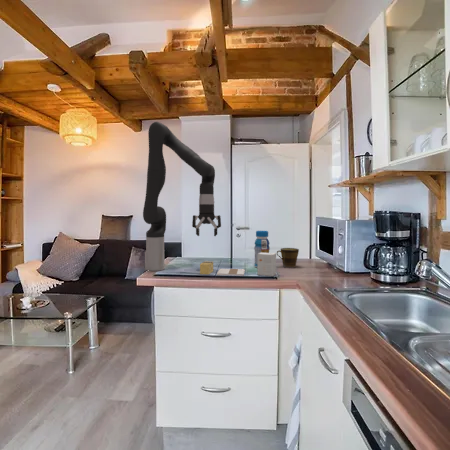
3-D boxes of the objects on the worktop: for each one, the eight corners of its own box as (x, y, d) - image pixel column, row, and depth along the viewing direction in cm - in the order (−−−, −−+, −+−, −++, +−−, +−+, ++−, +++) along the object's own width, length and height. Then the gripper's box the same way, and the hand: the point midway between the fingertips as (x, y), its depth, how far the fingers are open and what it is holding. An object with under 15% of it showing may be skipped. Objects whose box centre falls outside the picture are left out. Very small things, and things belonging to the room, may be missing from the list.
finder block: (199, 274, 148) (199, 263, 147) (204, 270, 156) (204, 260, 156) (209, 274, 147) (209, 264, 147) (213, 271, 156) (213, 261, 155)
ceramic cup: (292, 264, 174) (292, 247, 174) (302, 267, 165) (302, 249, 164) (272, 265, 170) (272, 248, 170) (281, 269, 161) (281, 250, 160)
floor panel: (217, 275, 145) (217, 273, 145) (219, 270, 157) (219, 268, 157) (243, 275, 144) (243, 273, 144) (244, 270, 156) (244, 269, 156)
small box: (276, 274, 148) (276, 253, 147) (273, 276, 142) (273, 254, 142) (260, 272, 151) (260, 252, 150) (257, 275, 146) (257, 253, 145)
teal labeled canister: (251, 267, 165) (252, 231, 164) (257, 265, 172) (257, 230, 171) (266, 268, 161) (266, 231, 160) (271, 266, 169) (271, 230, 168)
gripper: (191, 203, 147) (191, 236, 148) (219, 203, 146) (219, 236, 146) (194, 203, 154) (194, 235, 155) (221, 203, 153) (221, 235, 154)
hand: (206, 236), depth 151 cm, fingers open, 8 cm apart
